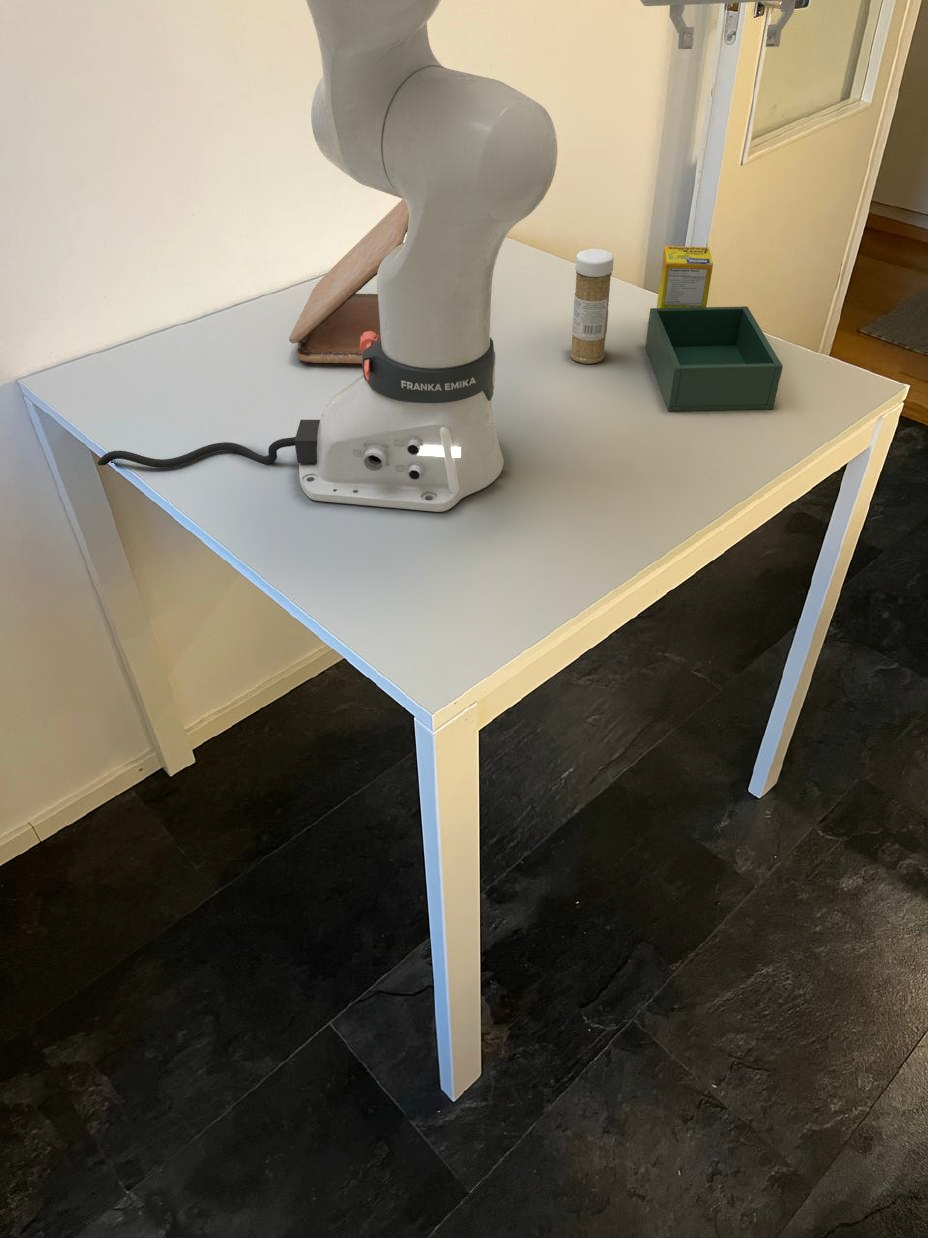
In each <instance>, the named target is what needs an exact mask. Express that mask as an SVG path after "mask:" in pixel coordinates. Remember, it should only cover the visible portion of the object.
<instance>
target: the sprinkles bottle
mask: <svg viewBox="0 0 928 1238" xmlns="http://www.w3.org/2000/svg"><path fill="white" fill-rule="evenodd" d="M574 267H575V268H574V269H575V274H576V276H575V290H574V291H575V292H574V299H573V316H572V329H571V333H572V337H571V350H570V352H569V355H570V357H571V359H572V360H574V361H576V362H577V363H581V364H589V365H590V364H596V363H600V362H601V361H603V360H604V358H605V355H606V352H605V348H606V347H605V346H606V337H607V331H608V321H609V302H610V290H611V277H612V274H613V270H614V254H612V253H611V252H610V251H609V250H606V249H602V248H601V249H600V248H599V249H598V248H588V249H584V250H581V251H579V252H577V254H576V257H575V266H574Z"/></svg>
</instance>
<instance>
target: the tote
mask: <svg viewBox="0 0 928 1238" xmlns="http://www.w3.org/2000/svg"><path fill="white" fill-rule="evenodd" d="M647 323H648V324H647V332H646V338H645V347H644V349H645V352H646V355H647V358H648V360H649V363H650V365H651V368H652V371H653V374H654V377H655V379H656V382H657V384H658V387H659V390H660V393H661V395H662V397H663V401H664V404H665V405H666V408H667V411H668V412H693V411H694V412H697V411H698V412H700V411H741V410H742V411H743V410H745V411H747V410H748V411H749V410H773V409H774V406H775V401H776V399H777V393H778V390H779V389H778V388H779V385H780V381H781V376H782V371H783V368H784V367H783V364H782V362H781V361H780V359H779V357H778V355H777V353H776V352H775V350H774V349H773V347H772V345H771V344H770V342H769V340H768V339H767V337H766V336H765V334H764V332H763V329H761V327H760V324H759V323H758V322H757V319H756V318H755V317H754V315H753V313H752V311H751V309H750V308H749V306H745V305H744V306H706V307H694V308H657V307H650V309H649V315H648V322H647Z"/></svg>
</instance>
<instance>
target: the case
mask: <svg viewBox="0 0 928 1238" xmlns="http://www.w3.org/2000/svg"><path fill="white" fill-rule="evenodd" d="M408 224H409V211H408V206H407V203H406V201H405V199H402V198H401V200H400V201H399V202H397V204H395V206H394V207H393V208H392V209H390V211H389V212H388V213H387V214H386V215H385V216H384V217H383V218H381V219H380V220H379V221H378V222H377V223H376V225H375V226H373V227H372V228H371V229H370V230H369V231H368V232H367V233H366V234H364V236H363V237H362V238H361V239H360V240H359V241H358V242H357V243H356V244H355V245H354V246H353V247H352V248H351V249H349V251H348V252H347V253H346V254H344V256H343V257H342V258H341V259H340V260H338V261H337V263H336V264H335V265H334V266H333V267H332V268H330V269H329V271H327V272H326V273H325V274H324V276H322V277H321V279H320V280H318V282H317V284H316V285H315V286H314V288H313V289H312V291H311V293H310V295H309V297H308V299H307V302H306V303H305V305H304V308H303V310H302V311H301V314H300V315H299V317H298V319H297V321H296V323H295V325H294V326H293V329H292V330H291V333H290V335H289V338H288V340H289V342H290V343H291V344H297V348H296V349H295V357H297V359H298V360H299V361H300V362H301V361H302V362H305V363H315V364H316V363H317V364H318V363H319V364H362V354H363V353H362V352H361V350H360V339H361V336H363V333H364V332H367V331H372V332H375V333H376V335H378V336H379V339H380V338H381V334H380V320H379V306H378V293H358V292H359V291H361V290H362V289H363V288H364V287H365V286H366V285H367V284H368V283H370V282H371V280H373V279H374V278H375V277H377V273H378V269H379V267H380V264H381V262H382V261H383V260H384V258H385V257H386V256H387V255H388V254H389V253H390V252H391V251H392V250H394V249H395V248H396V247H398V246H399V245H401V244H403V243H404V242H405V238H406V235H407V231H408Z"/></svg>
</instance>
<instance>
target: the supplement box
mask: <svg viewBox="0 0 928 1238" xmlns="http://www.w3.org/2000/svg"><path fill="white" fill-rule="evenodd" d="M712 258H713V257H712V255H711V250H710V247H709V246H680V245H679V246H675V245H664V248H663V253H662V261H661V269H660V279H659V285H658V292H657V293H658V294H657V301H656V309H657V308H694V307H708V300H709V299H708V298H709V292H710V285H711V280H712V273H713V267H714V262H713V259H712Z"/></svg>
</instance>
